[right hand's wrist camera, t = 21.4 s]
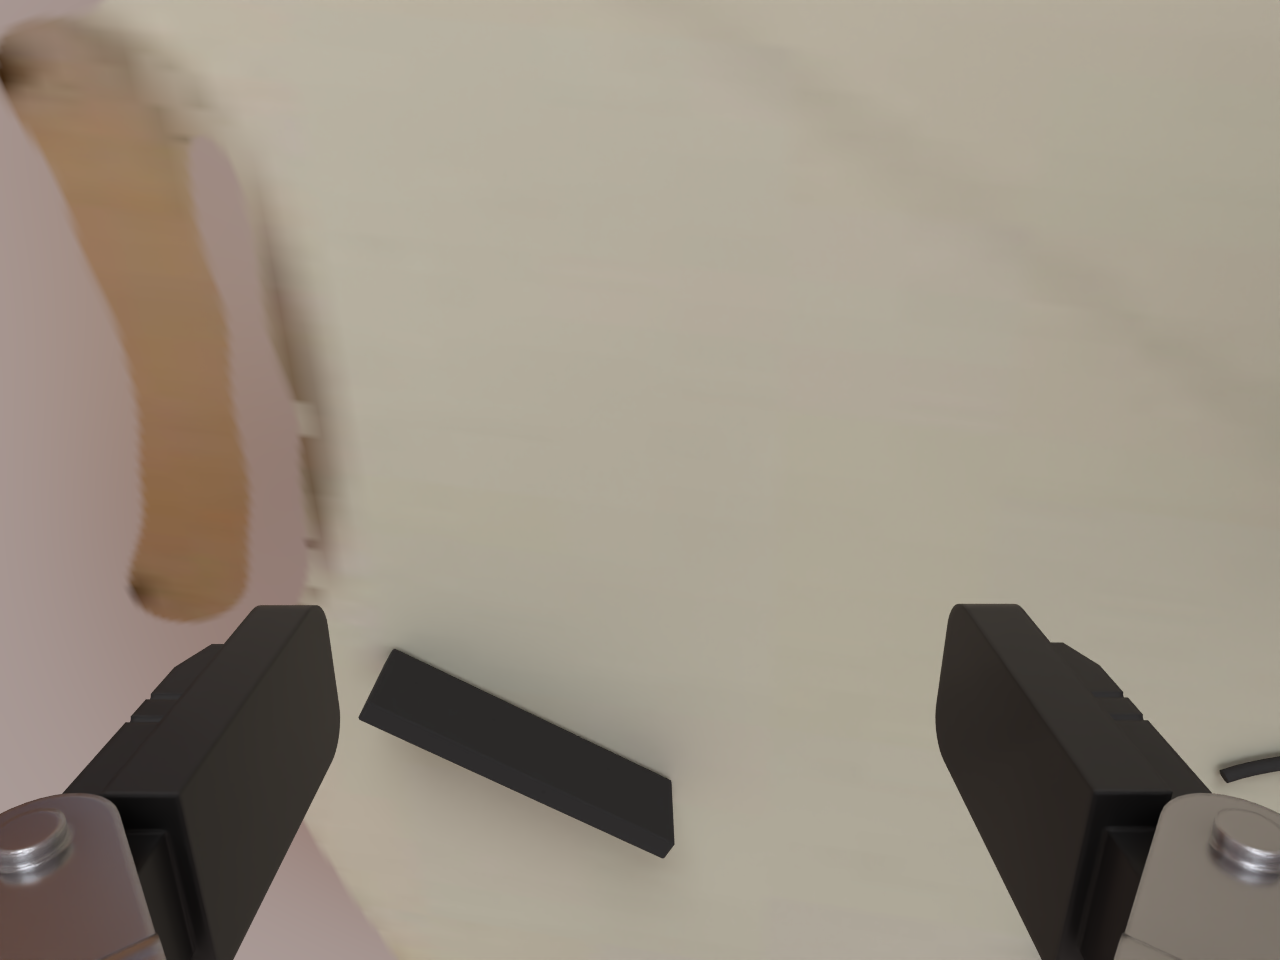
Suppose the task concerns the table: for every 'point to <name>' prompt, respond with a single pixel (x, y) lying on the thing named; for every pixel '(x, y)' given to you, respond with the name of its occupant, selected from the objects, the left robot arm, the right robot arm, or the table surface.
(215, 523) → the table surface
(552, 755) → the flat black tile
